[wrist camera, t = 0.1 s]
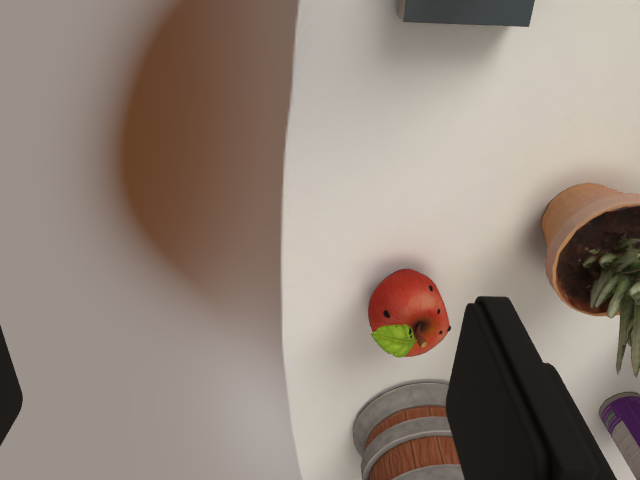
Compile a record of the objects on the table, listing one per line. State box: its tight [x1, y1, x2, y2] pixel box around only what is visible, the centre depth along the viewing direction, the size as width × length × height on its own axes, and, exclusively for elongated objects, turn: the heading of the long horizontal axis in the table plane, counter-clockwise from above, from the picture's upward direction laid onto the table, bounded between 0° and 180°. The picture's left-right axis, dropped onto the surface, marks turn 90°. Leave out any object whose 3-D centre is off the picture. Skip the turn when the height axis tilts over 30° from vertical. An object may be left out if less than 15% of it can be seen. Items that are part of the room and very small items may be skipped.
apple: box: [368, 269, 451, 357], centre depth 44 cm, size 8×7×10 cm
